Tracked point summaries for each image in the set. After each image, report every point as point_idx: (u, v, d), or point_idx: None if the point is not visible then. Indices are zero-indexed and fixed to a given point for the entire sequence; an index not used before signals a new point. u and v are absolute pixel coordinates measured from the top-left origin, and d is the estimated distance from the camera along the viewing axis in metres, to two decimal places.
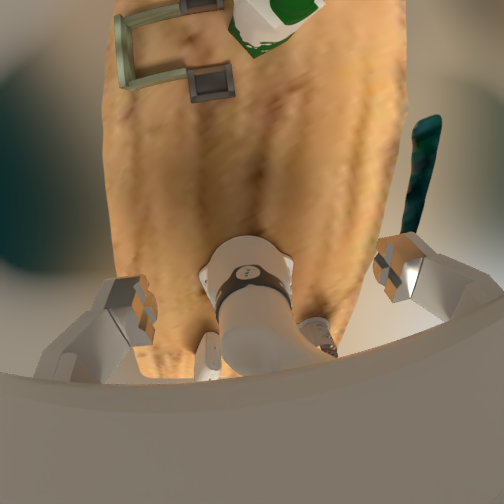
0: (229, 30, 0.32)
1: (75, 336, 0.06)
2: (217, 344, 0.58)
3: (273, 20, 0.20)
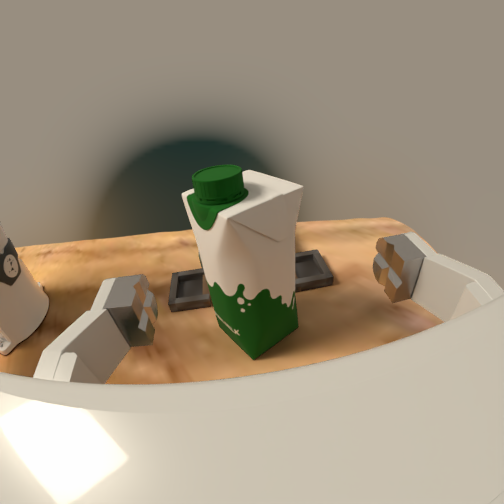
0: None
1: (75, 336, 0.06)
2: None
3: (192, 191, 0.24)
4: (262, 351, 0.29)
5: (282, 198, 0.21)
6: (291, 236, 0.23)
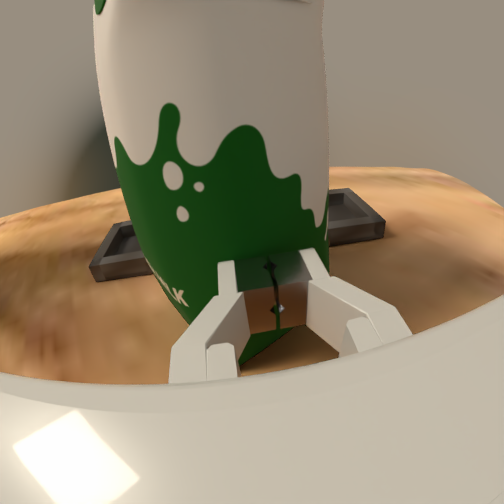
0: None
1: (217, 325, 0.06)
2: None
3: None
4: (250, 352, 0.12)
5: None
6: (316, 15, 0.06)
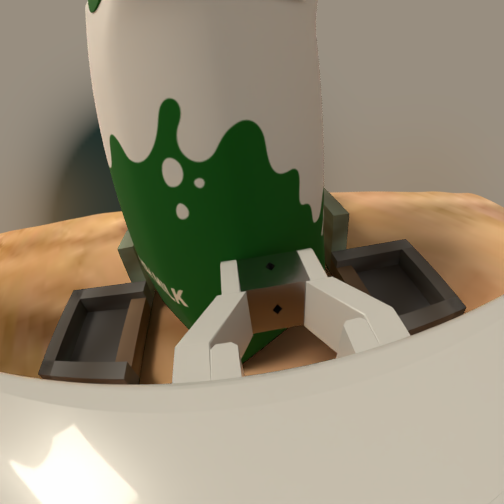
0: None
1: (220, 324, 0.06)
2: None
3: None
4: (250, 350, 0.12)
5: None
6: (311, 13, 0.06)
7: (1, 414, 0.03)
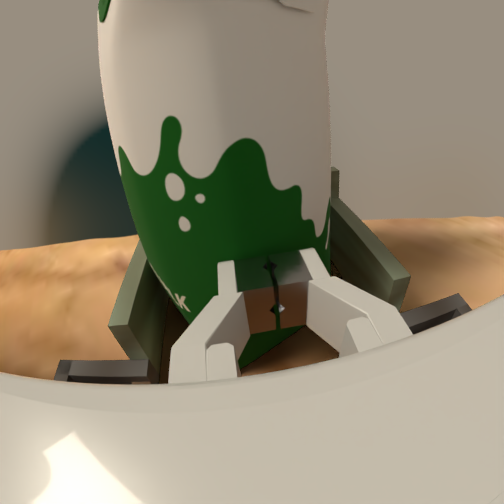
0: None
1: (217, 324, 0.06)
2: None
3: None
4: (250, 356, 0.12)
5: None
6: (318, 24, 0.06)
7: (1, 414, 0.03)
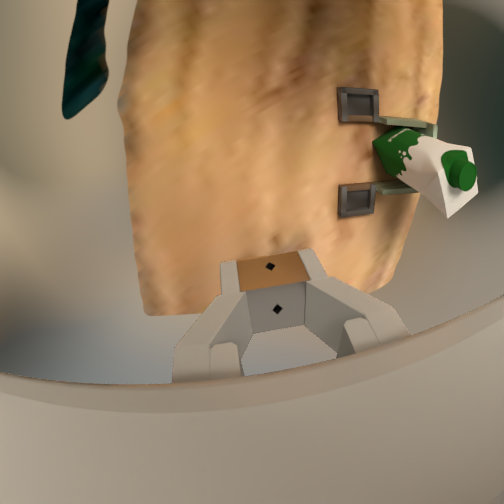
0: None
1: (220, 324, 0.06)
2: None
3: (470, 154, 0.25)
4: (376, 148, 0.41)
5: (443, 203, 0.29)
6: None
7: (1, 414, 0.03)
